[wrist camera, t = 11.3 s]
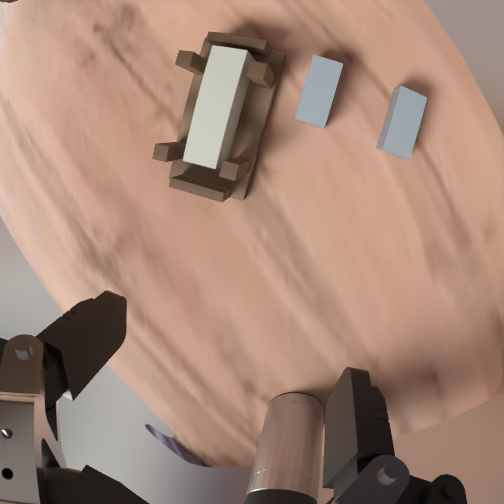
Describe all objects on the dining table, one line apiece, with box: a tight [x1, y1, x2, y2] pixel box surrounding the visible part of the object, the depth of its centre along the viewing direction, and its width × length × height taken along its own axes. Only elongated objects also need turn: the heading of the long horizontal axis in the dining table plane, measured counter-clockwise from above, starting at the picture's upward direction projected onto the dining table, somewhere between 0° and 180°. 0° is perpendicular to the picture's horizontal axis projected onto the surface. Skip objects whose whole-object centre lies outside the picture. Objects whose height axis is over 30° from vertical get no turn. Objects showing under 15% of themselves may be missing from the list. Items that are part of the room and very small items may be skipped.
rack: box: [152, 32, 286, 202], centre depth 28 cm, size 17×9×7 cm, turn 165°
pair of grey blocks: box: [295, 55, 427, 160], centre depth 27 cm, size 7×12×3 cm, turn 75°
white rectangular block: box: [183, 45, 256, 169], centre depth 28 cm, size 4×12×4 cm, turn 165°
